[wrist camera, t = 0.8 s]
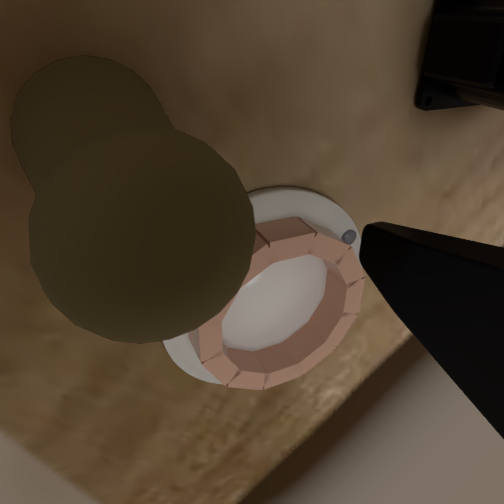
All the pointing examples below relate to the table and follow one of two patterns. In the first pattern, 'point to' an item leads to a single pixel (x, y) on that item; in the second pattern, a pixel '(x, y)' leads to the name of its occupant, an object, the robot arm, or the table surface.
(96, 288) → the brown peg
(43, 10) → the table surface
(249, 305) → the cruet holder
